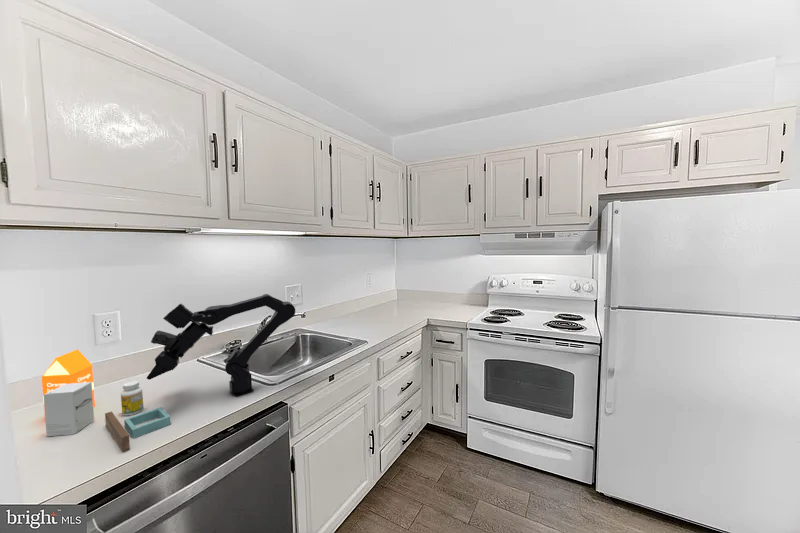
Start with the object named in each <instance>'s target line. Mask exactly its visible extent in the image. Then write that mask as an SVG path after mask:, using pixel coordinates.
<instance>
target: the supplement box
mask: <svg viewBox="0 0 800 533" xmlns="http://www.w3.org/2000/svg"><path fill="white" fill-rule="evenodd" d="M44 408H45V411H44V420H45V432H46V437H58V436H69V435H70V436H71V435H76V434H77V433H78V432H80V430H82V429H84V428H86V427H87V426H88V425H89V424H92V423H93V422H94V421H95V416H94V415H95V413H94V412H95V411H94V407H93V396H92V382H83V383H71V384H64V385H62V386H60V387H58V388H56V389H54V390H52V391H50V392H48V393H46V394H44V403H43V409H44Z"/></svg>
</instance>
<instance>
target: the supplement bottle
mask: <svg viewBox="0 0 800 533" xmlns="http://www.w3.org/2000/svg"><path fill="white" fill-rule="evenodd" d="M122 389H123V390H122V392H120V399H121V400H120V402H121V414H122V415H123V416H127V417H128V416H135V415H138V414H140V413H141V412H142V411H143V410H144V397H143V396H144V395H143V388H142V387H141V386H140V382H139V381H138V380H132V381H128V382H125V383H124V384H123V385H122Z"/></svg>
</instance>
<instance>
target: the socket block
mask: <svg viewBox="0 0 800 533" xmlns="http://www.w3.org/2000/svg"><path fill="white" fill-rule="evenodd" d="M123 421H124V422H123V424H124V429H125V430H126V432H127V433H128V435H130V436H131V438H132V439H135V438H138V437H141V436H144V435H147V434H149V433H152V432H154V431H157V430H159V429H163V428H164V427H169V426H170V425H172V423H171V416H170V414H168V413H167V412H166V411H165V410H164V409H163V408H162V407H161V406H160V407H158V408H155V409H151V410H148V411H146V412H145V411H144V412H142V413H138V414H135V415H132V416H130V417H128V418H127V417H126V418H124V420H123ZM149 421H150V422H149ZM142 423H144V424H142ZM139 424H141V425H139ZM137 425H139V426H137Z"/></svg>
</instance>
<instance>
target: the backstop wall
mask: <svg viewBox="0 0 800 533" xmlns="http://www.w3.org/2000/svg"><path fill="white" fill-rule="evenodd" d="M104 416H105V418H104V419H105V428H106V429H107V430H108V432H109V433H110V435H111V437H112V439H113V440H114V442H115V443H116V444H117V446H118V448H119V450H120V451H121V453H124V452H127V451H130V446H131V444H130V436H129V435H130V434H129V433H128V431H127V430H126V429H125V427H124V426H123V425H122V424H121V422H120V421H119V419H118V418H117V417H116V415H115V414H114V412H113V411H108V412H106V413H104Z"/></svg>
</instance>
